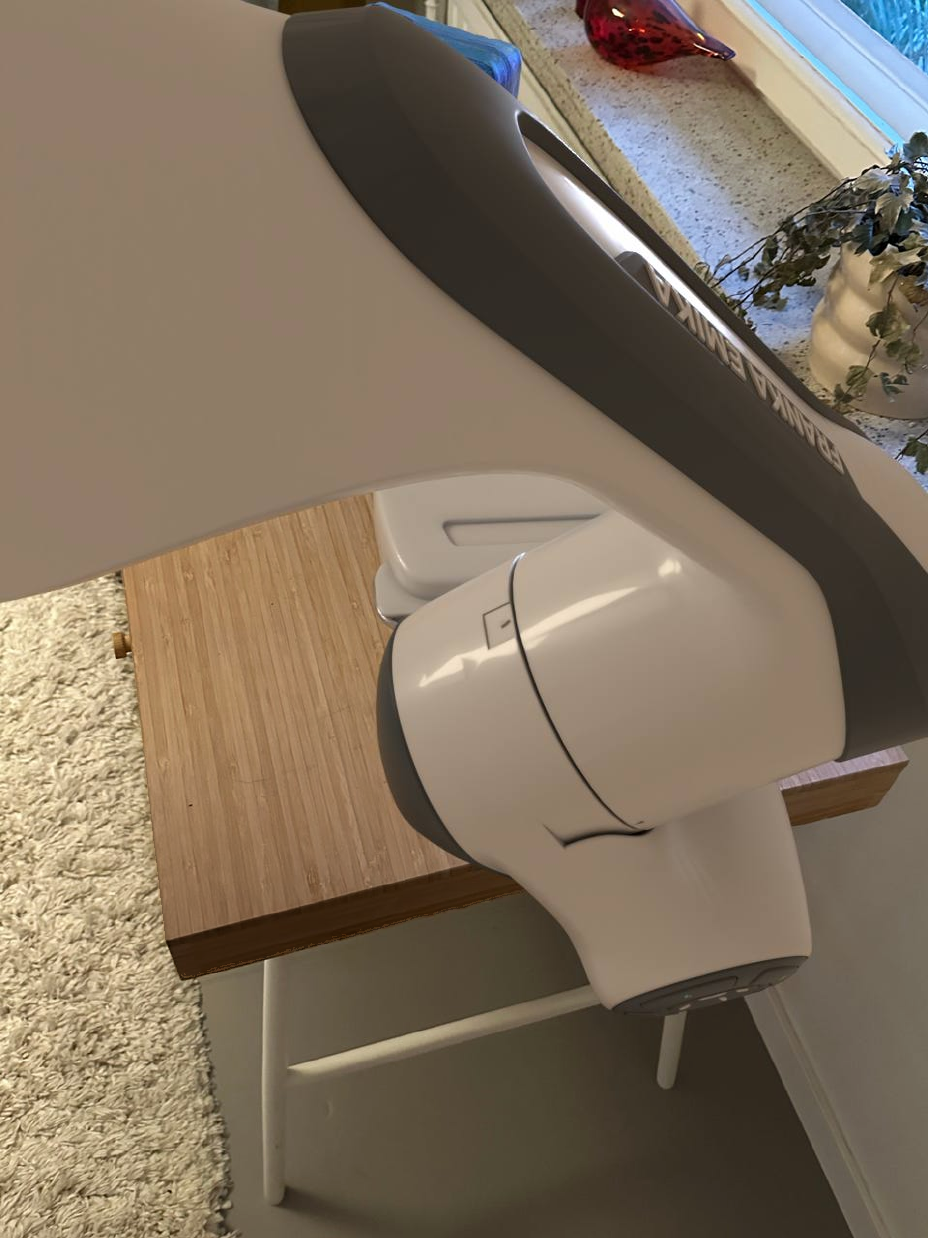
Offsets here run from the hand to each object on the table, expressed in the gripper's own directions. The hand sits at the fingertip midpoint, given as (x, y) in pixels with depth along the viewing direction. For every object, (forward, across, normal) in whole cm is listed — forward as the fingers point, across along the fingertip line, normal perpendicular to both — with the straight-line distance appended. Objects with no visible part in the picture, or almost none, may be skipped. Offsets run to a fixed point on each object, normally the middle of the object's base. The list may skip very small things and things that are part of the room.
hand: (561, 417), depth 53 cm
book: (+43, -3, -19) cm, 47 cm away
